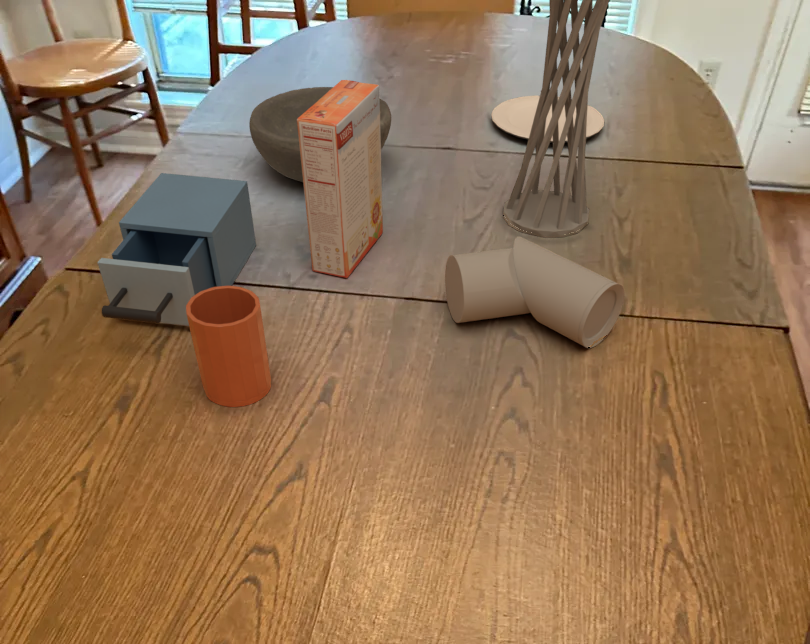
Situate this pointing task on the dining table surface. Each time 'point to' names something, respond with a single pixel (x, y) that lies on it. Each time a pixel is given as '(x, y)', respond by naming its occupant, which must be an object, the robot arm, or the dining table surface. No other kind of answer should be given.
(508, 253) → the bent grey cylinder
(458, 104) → the dining table surface
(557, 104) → the vase
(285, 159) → the bowl
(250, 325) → the clay cup
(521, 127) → the plate
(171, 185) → the blue-grey drawer box
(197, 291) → the drawer
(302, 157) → the cracker box
